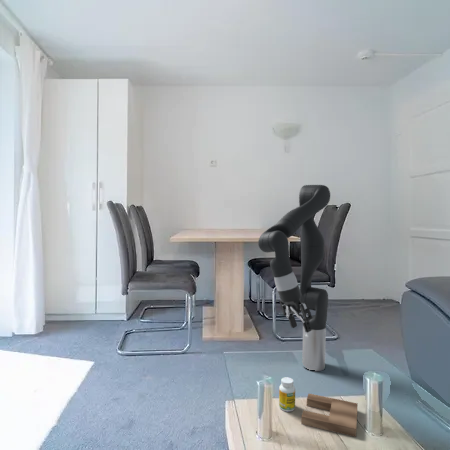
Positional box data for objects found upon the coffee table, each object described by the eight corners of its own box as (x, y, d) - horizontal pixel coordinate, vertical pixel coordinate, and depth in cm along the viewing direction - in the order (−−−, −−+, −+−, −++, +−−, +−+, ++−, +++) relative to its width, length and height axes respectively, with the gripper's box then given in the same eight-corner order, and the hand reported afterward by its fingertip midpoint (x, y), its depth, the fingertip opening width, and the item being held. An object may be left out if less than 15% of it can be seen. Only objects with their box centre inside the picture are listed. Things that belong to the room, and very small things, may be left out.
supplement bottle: (287, 401, 124) (287, 374, 123) (298, 408, 119) (299, 381, 118) (275, 406, 121) (276, 378, 120) (286, 414, 116) (287, 385, 115)
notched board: (308, 400, 124) (308, 393, 124) (357, 410, 118) (357, 403, 118) (301, 423, 111) (301, 416, 111) (355, 436, 105) (356, 428, 105)
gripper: (307, 283, 120) (322, 328, 121) (284, 280, 133) (297, 321, 134) (290, 292, 117) (305, 338, 118) (268, 288, 130) (281, 330, 131)
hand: (301, 329), depth 126 cm, fingers open, 8 cm apart
